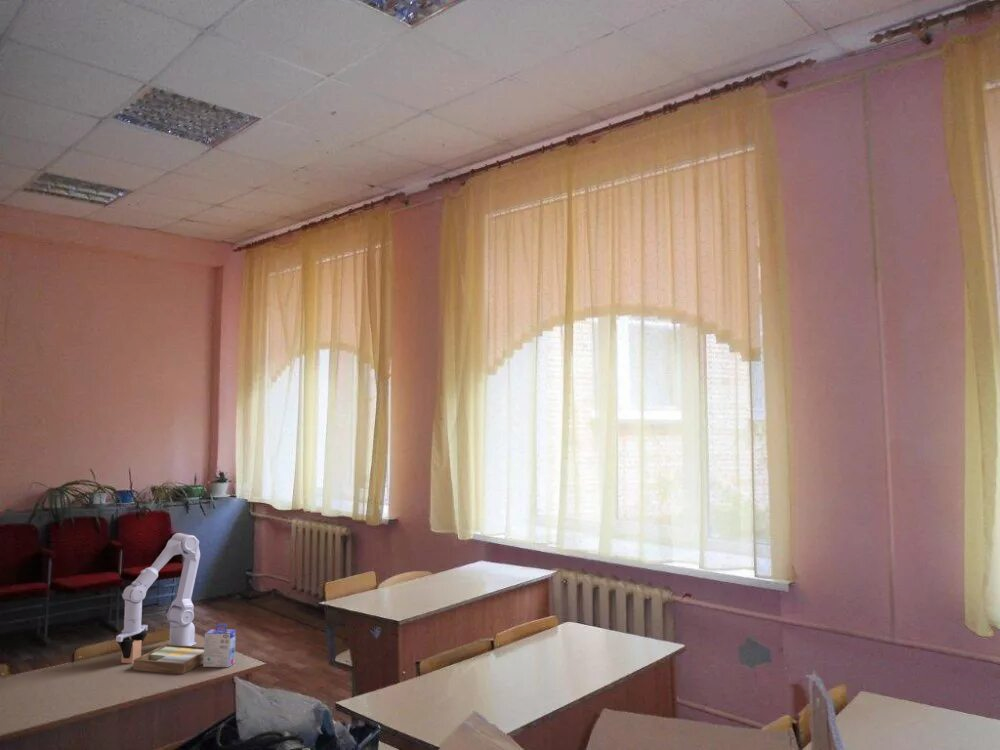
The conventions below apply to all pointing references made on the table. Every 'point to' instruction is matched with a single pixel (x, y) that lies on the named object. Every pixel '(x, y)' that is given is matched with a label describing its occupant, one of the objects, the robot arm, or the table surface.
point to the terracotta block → (133, 652)
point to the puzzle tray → (168, 665)
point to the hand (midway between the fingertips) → (131, 655)
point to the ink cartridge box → (219, 647)
